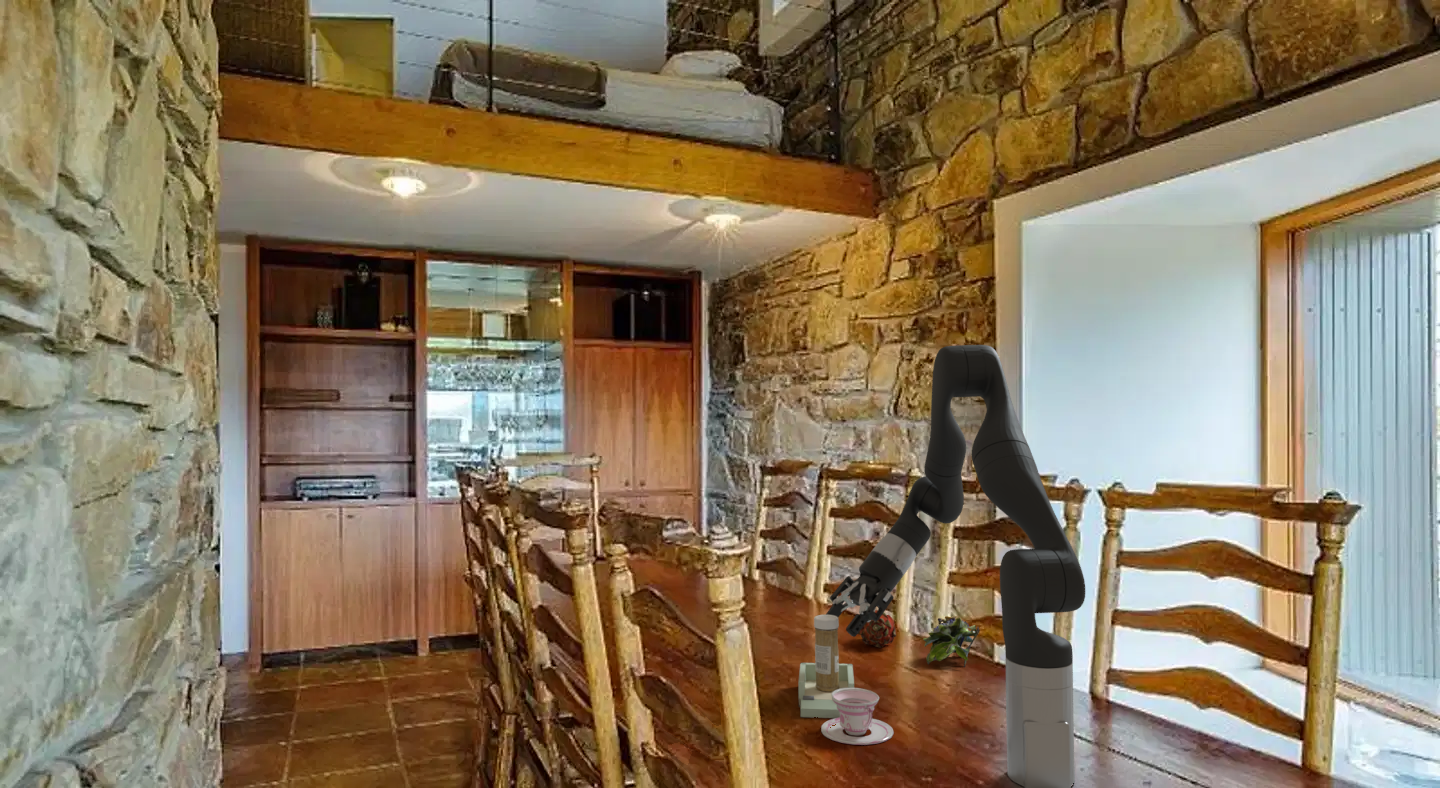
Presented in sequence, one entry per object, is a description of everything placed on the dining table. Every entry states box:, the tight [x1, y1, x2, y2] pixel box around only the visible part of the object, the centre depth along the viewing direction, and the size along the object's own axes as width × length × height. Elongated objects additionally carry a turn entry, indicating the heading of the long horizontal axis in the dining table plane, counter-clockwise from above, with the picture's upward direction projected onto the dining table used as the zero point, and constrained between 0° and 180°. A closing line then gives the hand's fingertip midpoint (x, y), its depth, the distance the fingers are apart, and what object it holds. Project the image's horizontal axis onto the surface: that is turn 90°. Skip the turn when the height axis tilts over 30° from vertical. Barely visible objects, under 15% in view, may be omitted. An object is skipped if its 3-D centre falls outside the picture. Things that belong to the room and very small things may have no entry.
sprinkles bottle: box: [813, 614, 840, 692], centre depth 164 cm, size 5×5×14 cm
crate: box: [798, 662, 855, 719], centre depth 161 cm, size 17×10×4 cm, turn 173°
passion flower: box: [922, 616, 981, 668], centre depth 185 cm, size 11×11×12 cm
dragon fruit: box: [857, 609, 897, 649], centre depth 199 cm, size 8×8×12 cm
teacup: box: [820, 687, 894, 746], centre depth 146 cm, size 12×12×6 cm
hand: (837, 628), depth 165 cm, fingers open, 8 cm apart
